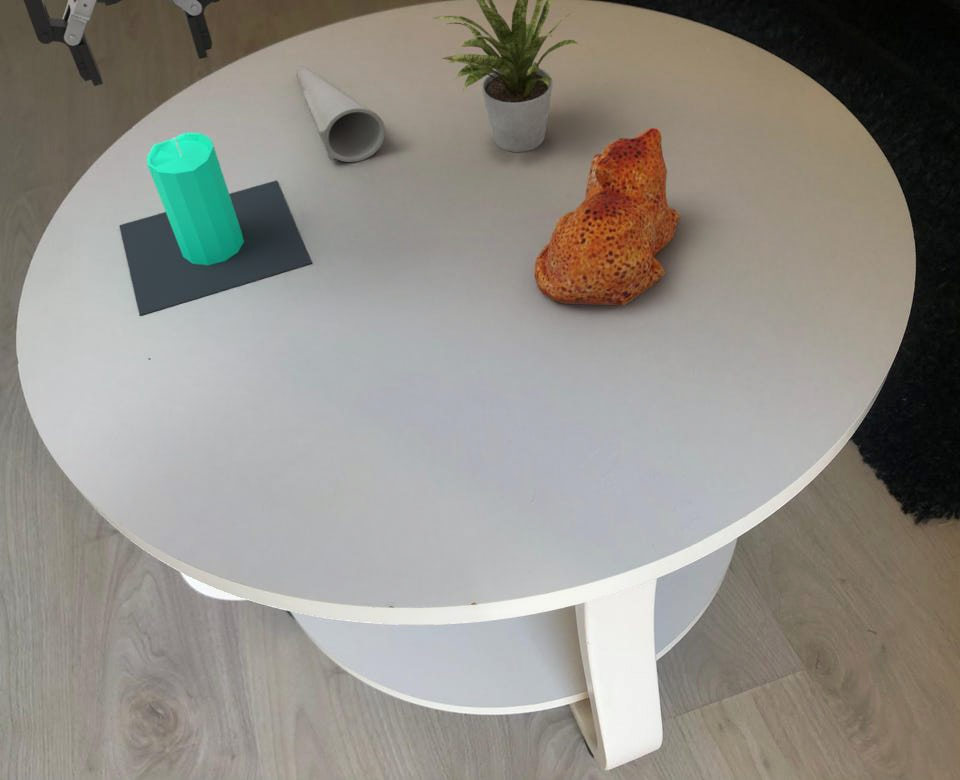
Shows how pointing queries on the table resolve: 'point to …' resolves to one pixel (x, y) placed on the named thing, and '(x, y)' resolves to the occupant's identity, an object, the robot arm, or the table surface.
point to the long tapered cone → (341, 119)
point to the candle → (195, 198)
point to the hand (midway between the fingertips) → (150, 67)
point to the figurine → (612, 229)
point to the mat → (177, 280)
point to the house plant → (511, 74)
